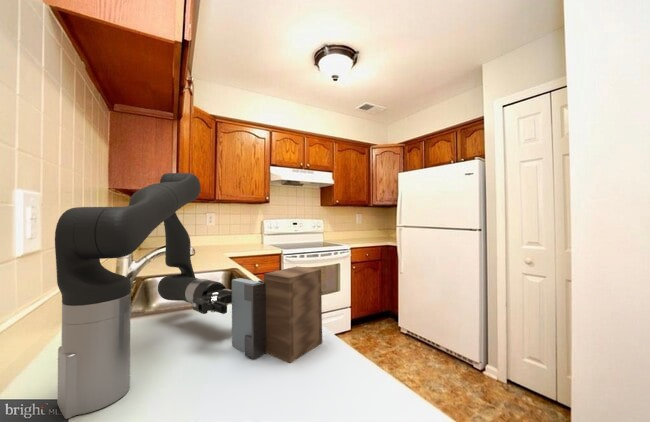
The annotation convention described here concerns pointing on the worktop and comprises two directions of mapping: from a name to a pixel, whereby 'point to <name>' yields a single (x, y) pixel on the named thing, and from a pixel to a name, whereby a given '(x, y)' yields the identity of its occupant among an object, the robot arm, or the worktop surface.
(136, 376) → the worktop surface
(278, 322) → the cabinet
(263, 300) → the hinge clips
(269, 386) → the worktop surface
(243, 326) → the door
